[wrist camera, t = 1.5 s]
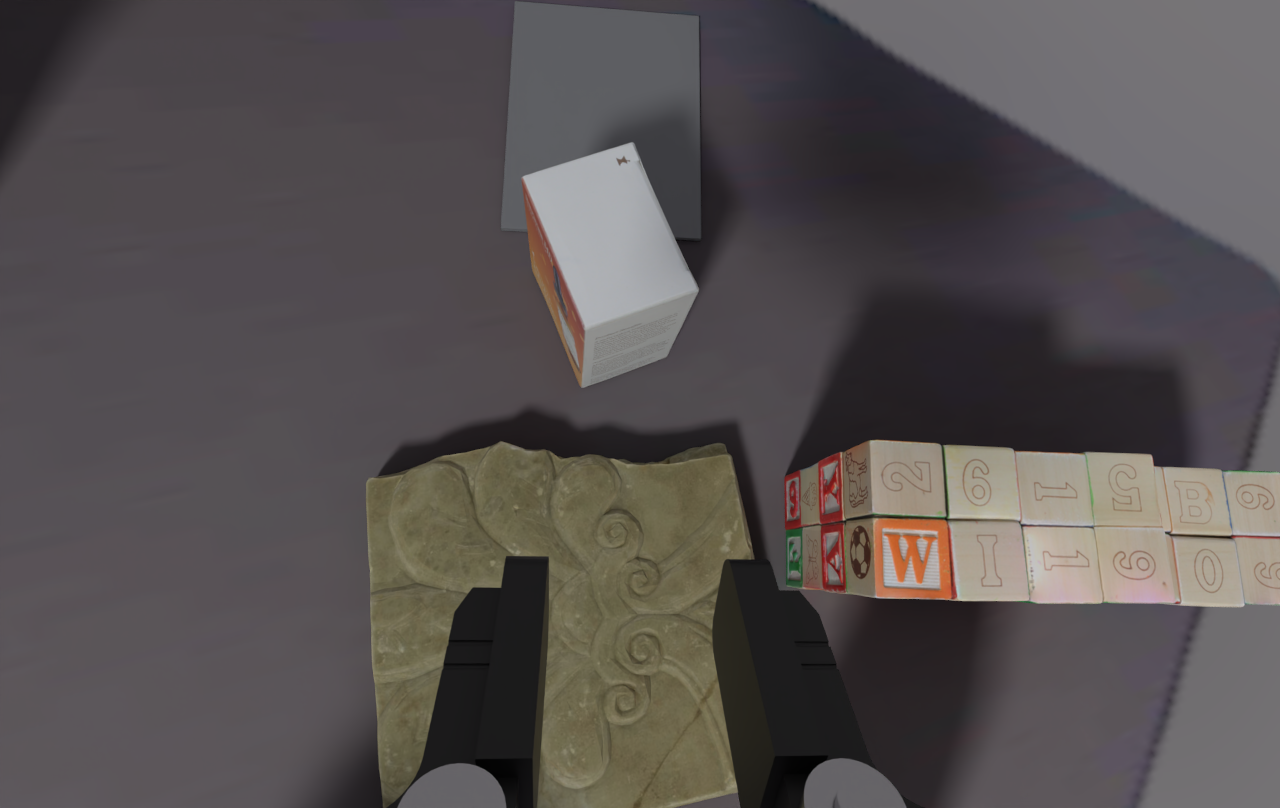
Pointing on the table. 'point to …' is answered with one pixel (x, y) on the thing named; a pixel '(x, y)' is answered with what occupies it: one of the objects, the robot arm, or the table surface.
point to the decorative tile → (567, 610)
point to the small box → (606, 262)
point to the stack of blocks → (1031, 527)
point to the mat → (605, 101)
